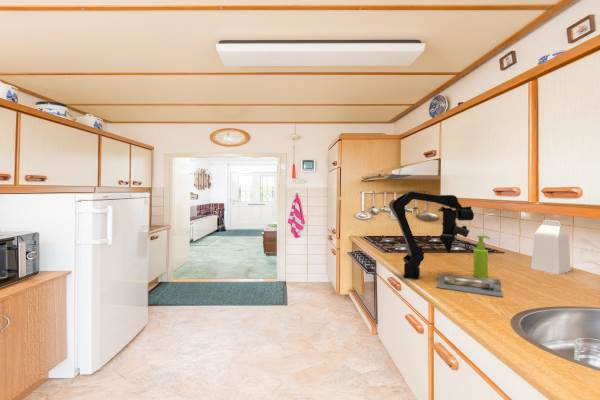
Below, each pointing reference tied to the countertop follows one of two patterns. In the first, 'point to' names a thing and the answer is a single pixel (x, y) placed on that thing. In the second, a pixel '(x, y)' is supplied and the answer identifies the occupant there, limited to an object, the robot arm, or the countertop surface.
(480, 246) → the soap dispenser
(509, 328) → the countertop surface
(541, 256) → the milk
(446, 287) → the board
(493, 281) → the block
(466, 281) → the link
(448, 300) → the countertop surface
